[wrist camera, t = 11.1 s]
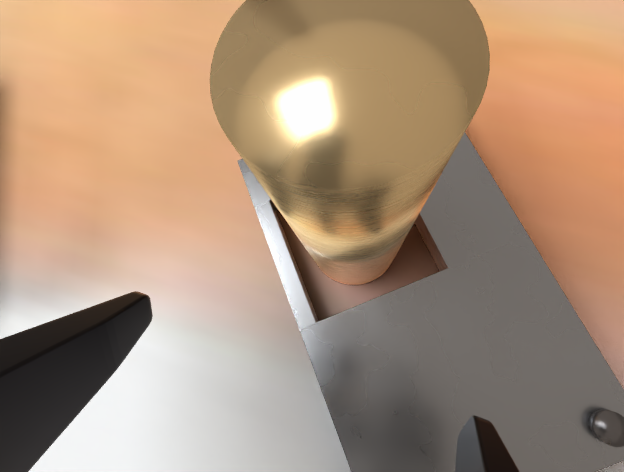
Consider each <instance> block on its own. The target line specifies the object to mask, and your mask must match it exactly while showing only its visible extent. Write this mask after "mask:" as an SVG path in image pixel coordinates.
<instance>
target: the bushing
mask: <svg viewBox="0 0 624 472" xmlns="http://www.w3.org/2000/svg"><path fill="white" fill-rule="evenodd" d="M489 61H490V53H489V46H488V40H487V36H486V33H485V30H484V27H483V24H482V21H481V19H480V17H479V16H478V14H477V12H476V10H475V8H474V7H473V5H472V4H471V3H470V1H469V0H246V1H245V2H244V3H243V4H242V5H241V6H240V8H239V9H238V10H237V11H236V12H235V14H234V15H233V16H232V18H231V19H230V21H229V22H228V23H227V25H226V27H225V29H224V31H223V32H222V34H221V36H220V38H219V41H218V43H217V46H216V49H215V51H214V56H213V60H212V64H211V73H210V92H211V98H212V103H213V108H214V111H215V114H216V116H217V119H218V121H219V124H220V125H221V127H222V129H223V131H224V132H225V134H226V136H227V137H228V139H229V140H230V142H231V143H232V145H233V146H234V147H235V149H236V150H237V152H238V153H239V154H240V156H241V157H242V159H243V160H244V162H245V163H246V164H247V166H248V167H249V169H250V170H251V172H252V173H253V174H254V176H255V177H256V179H257V180H258V182H259V183H260V184H261V186H262V187H263V189H264V190H265V191H266V193H267V194H268V196H269V197H270V199H271V200H272V201H273V203H274V204H275V206H276V207H277V209H278V210H279V211H280V213H281V214H282V216H283V217H284V218H285V220H286V221H287V223H288V224H289V226H290V227H291V228H292V230H293V231H294V233H295V234H296V236H297V237H298V238H299V240H300V241H301V243H302V244H303V246H304V247H305V248H306V250H307V251H308V253H309V254H310V255H311V257H312V258H313V260H314V261H315V263H316V264H317V265H318V267H319V268H320V269H321V271H322V272H323V273H324V274H326V275H327V276H328V277H330V278H331V279H333V280H335V281H337V282H340V283H343V284H349V285H359V284H365V283H368V282H371V281H373V280H375V279H377V278H378V277H380V276H381V275H382V274H383V273H384V272H385V271H386V270H387V269H388V268H389V266H390V265H391V263H392V262H393V260H394V258H395V256H396V254H397V253H398V251H399V249H400V247H401V245H402V244H403V242H404V240H405V238H406V236H407V235H408V233H409V231H410V229H411V228H412V226H413V224H414V222H415V220H416V219H417V217H418V215H419V213H420V211H421V210H422V208H423V206H424V204H425V202H426V201H427V199H428V197H429V195H430V193H431V192H432V190H433V188H434V186H435V184H436V183H437V181H438V179H439V177H440V176H441V174H442V172H443V170H444V168H445V167H446V165H447V163H448V161H449V159H450V158H451V156H452V154H453V152H454V150H455V149H456V147H457V145H458V143H459V141H460V140H461V138H462V136H463V134H464V132H465V131H466V129H467V127H468V125H469V124H470V122H471V120H472V118H473V116H474V114H475V112H476V111H477V109H478V107H479V105H480V103H481V100H482V98H483V95H484V92H485V89H486V86H487V80H488V75H489Z"/></svg>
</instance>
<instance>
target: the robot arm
mask: <svg viewBox="0 0 624 472" xmlns="http://www.w3.org/2000/svg"><path fill="white" fill-rule="evenodd" d="M151 320H152V309H151V302H150V298H149V296H148V295H146V294H143V293H140V292H131V293H128V294H126V295H123V296H120V297H117V298H114V299H112V300H109V301H106V302H103V303H101V304H98V305H95V306H92V307H89V308H87V309H84V310H81V311H78V312H75V313H73V314H70V315H67V316H64V317H61V318H59V319H56V320H53V321H50V322H47V323H45V324H42V325H39V326H36V327H33V328H31V329H28V330H25V331H22V332H19V333H17V334H14V335H11V336H8V337H5V338H3V339H0V472H28V471H29V470H30V469H31V468H32V467H33V466H34V464H35V463H36V462H37V461H38V460H39V459H40V457H41V456H42V455H43V454H44V453H45V452H46V451H47V449H48V448H49V447H50V446H51V445H52V444H53V443H54V441H55V440H56V439H57V438H58V437H59V436H60V434H61V433H62V432H63V431H64V430H65V429H66V428H67V426H68V425H69V424H70V423H71V422H72V421H73V419H74V418H75V417H76V416H77V415H78V414H79V413H80V411H81V410H82V409H83V408H84V407H85V406H86V405H87V403H88V402H89V401H90V400H91V399H92V398H93V396H94V395H95V394H96V393H97V392H98V391H99V390H100V388H101V387H102V386H103V385H104V384H105V383H106V381H107V380H108V379H109V378H110V377H111V376H112V374H113V373H114V372H115V371H116V370H117V368H118V367H119V366H120V365H121V363H122V362H123V361H124V359H125V358H126V356H127V355H128V354H129V352H130V351H131V349H132V348H133V347H134V345H135V344H136V342H137V341H138V340H139V338H140V337H141V335H142V334H143V333H144V331H145V330H146V328H147V327H148V326H149V324H150V322H151ZM455 472H520V471H519V469H518V468H517V466H516V464H515V462H514V460H513V459H512V457H511V455H510V453H509V452H508V450H507V448H506V446H505V445H504V443H503V441H502V439H501V437H500V436H499V434H498V432H497V430H496V429H495V427H494V425H493V424H492V423H491V422H490V421H489V420H486V419H484V418H481V417H478V416H475V415H473V416H471V417H470V418H469V420H468V421H467V423H466V424H465V425H464V427H463V428H462V430H461V431H460V433H459V436H458V440H457V450H456V465H455Z"/></svg>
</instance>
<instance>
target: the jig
mask: <svg viewBox="0 0 624 472" xmlns="http://www.w3.org/2000/svg"><path fill="white" fill-rule="evenodd" d="M238 164H239V166H240V169H241V172H242V175H243V177H244V180H245V183H246V186H247V188H248V191H249V194H250V196H251V199H252V202H253V205H254V207H255V210H256V213H257V216H258V218H259V221H260V224H261V226H262V229H263V232H264V235H265V237H266V240H267V243H268V246H269V248H270V251H271V254H272V256H273V259H274V262H275V265H276V267H277V270H278V273H279V275H280V278H281V281H282V284H283V286H284V289H285V292H286V295H287V297H288V300H289V303H290V305H291V308H292V311H293V314H294V316H295V319H296V322H297V325H298V327H299V330H300V333H301V335H302V338H303V341H304V344H305V346H306V349H307V352H308V355H309V357H310V360H311V363H312V365H313V368H314V371H315V374H316V376H317V379H318V382H319V384H320V387H321V390H322V393H323V395H324V398H325V401H326V404H327V406H328V409H329V412H330V414H331V417H332V420H333V423H334V425H335V428H336V431H337V434H338V436H339V439H340V442H341V444H342V447H343V450H344V453H345V455H346V458H347V461H348V464H349V466H350V469H351V472H455V465H456V450H457V440H458V436H459V433H460V431H461V430H462V428H463V427H464V425H465V424H466V423H467V421H468V420H469V418H470V417H471V416H473V415H475V416H478V417H481V418H484V419H486V420H489V421H490V422H491V423H492V424H493V425H494V427H495V429H496V430H497V432H498V434H499V436H500V437H501V439H502V441H503V443H504V445H505V446H506V448H507V450H508V452H509V453H510V455H511V457H512V459H513V460H514V462H515V464H516V466H517V468H518V469H519V471H520V472H596V471H598V470H601V469H603V468H606V467H608V466H611V465H613V464H616V463H618V462H621V461H623V460H624V390H623V388H622V386H621V385H620V383H619V382H618V380H617V378H616V377H615V375H614V373H613V372H612V370H611V369H610V367H609V365H608V364H607V362H606V361H605V359H604V357H603V356H602V354H601V352H600V351H599V349H598V348H597V346H596V344H595V343H594V341H593V339H592V338H591V336H590V335H589V333H588V331H587V330H586V328H585V326H584V325H583V323H582V322H581V320H580V318H579V317H578V315H577V313H576V312H575V310H574V309H573V307H572V305H571V304H570V302H569V300H568V299H567V297H566V296H565V294H564V292H563V291H562V289H561V287H560V286H559V284H558V283H557V281H556V279H555V278H554V276H553V275H552V273H551V271H550V270H549V268H548V266H547V265H546V263H545V262H544V260H543V258H542V257H541V255H540V253H539V252H538V250H537V249H536V247H535V245H534V244H533V242H532V240H531V239H530V237H529V236H528V234H527V232H526V231H525V229H524V227H523V226H522V224H521V223H520V221H519V219H518V218H517V216H516V214H515V213H514V211H513V210H512V208H511V206H510V205H509V203H508V201H507V200H506V198H505V197H504V195H503V193H502V192H501V190H500V189H499V187H498V185H497V184H496V182H495V180H494V179H493V177H492V176H491V174H490V172H489V171H488V169H487V167H486V166H485V164H484V163H483V161H482V159H481V158H480V156H479V154H478V153H477V151H476V150H475V148H474V146H473V145H472V143H471V141H470V140H469V138H468V137H467V135H466V133H465V132H464V134H463V136H462V138H461V140H460V141H459V143H458V145H457V147H456V149H455V150H454V152H453V154H452V156H451V158H450V159H449V161H448V163H447V165H446V167H445V168H444V170H443V172H442V174H441V176H440V177H439V179H438V181H437V183H436V184H435V186H434V188H433V190H432V192H431V193H430V195H429V197H428V199H427V201H426V202H425V204H424V206H423V208H422V210H421V211H420V213H419V215H418V217H417V219H416V220H415V222H414V223H415V225H416V227H417V229H418V231H419V233H420V235H421V236H422V238H423V240H424V242H425V244H426V246H427V248H428V250H429V252H430V254H431V256H432V258H433V260H434V262H435V264H436V266H437V268H438V270H439V271H440V272H438V273H435V274H433V275H430V276H428V277H426V278H423V279H421V280H418V281H416V282H413V283H411V284H409V285H406V286H404V287H401V288H399V289H397V290H394V291H392V292H389V293H387V294H384V295H382V296H380V297H377V298H375V299H372V300H370V301H367V302H365V303H363V304H360V305H358V306H355V307H353V308H350V309H348V310H346V311H343V312H341V313H338V314H336V315H333V316H331V317H329V318H326V319H324V320H321V321H318V318H317V316H316V313H315V310H314V308H313V305H312V303H311V300H310V298H309V295H308V292H307V290H306V287H305V285H304V282H303V279H302V277H301V274H300V272H299V269H298V267H297V264H296V261H295V259H294V256H293V254H292V251H291V248H290V246H289V243H288V241H287V238H286V235H285V233H284V230H283V228H282V225H281V223H280V220H279V217H278V215H277V212H276V210H278V209H277V207H276V206H275V204H274V203H273V201H272V200H271V199H270V197H269V196H268V194H267V193H266V191H265V190H264V189H263V187H262V186H261V184H260V183H259V182H258V180H257V179H256V177H255V176H254V174H253V173H252V172H251V170H250V169H249V167H248V166H247V164H246V163H245V162H244V160H243V159H241V160H238Z"/></svg>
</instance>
